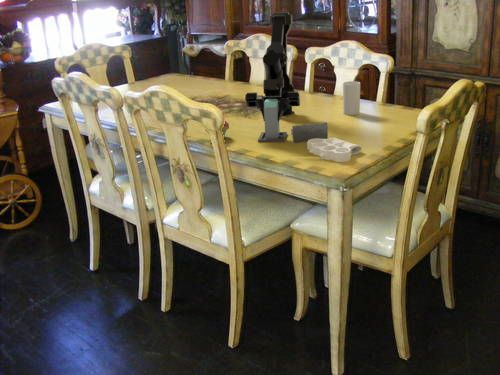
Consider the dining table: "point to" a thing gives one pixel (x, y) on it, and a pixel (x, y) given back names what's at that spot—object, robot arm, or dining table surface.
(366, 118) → the dining table surface
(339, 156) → the white muffin tray
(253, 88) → the dining table surface
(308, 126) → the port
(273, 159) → the dining table surface
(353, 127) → the dining table surface
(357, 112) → the mug
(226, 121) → the cupcake
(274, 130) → the plug
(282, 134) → the tray
